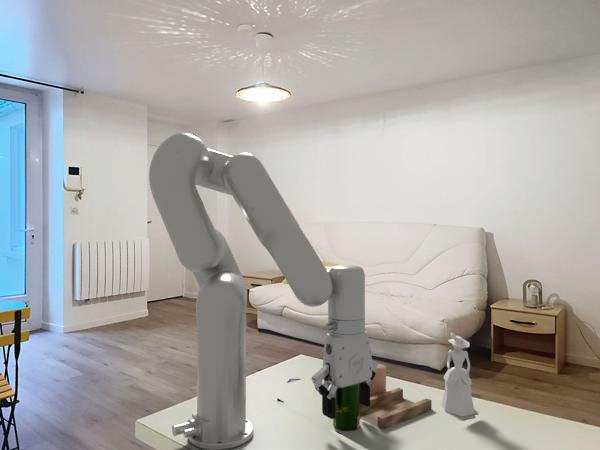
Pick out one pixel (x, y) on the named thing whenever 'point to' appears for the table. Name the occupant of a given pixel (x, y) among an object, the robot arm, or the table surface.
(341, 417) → the beer can
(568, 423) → the table surface
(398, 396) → the rack
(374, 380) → the peach rounded cylinder
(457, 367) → the figurine
